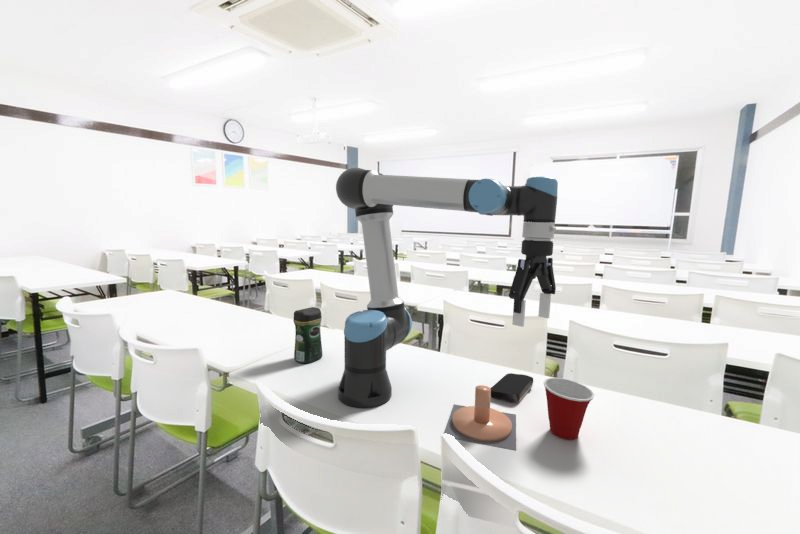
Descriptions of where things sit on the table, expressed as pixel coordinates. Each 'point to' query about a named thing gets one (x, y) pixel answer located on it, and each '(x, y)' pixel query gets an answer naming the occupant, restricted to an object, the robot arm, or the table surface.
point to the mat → (505, 443)
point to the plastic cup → (566, 406)
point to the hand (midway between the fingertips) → (531, 321)
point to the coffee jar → (307, 335)
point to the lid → (482, 419)
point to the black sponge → (512, 387)
